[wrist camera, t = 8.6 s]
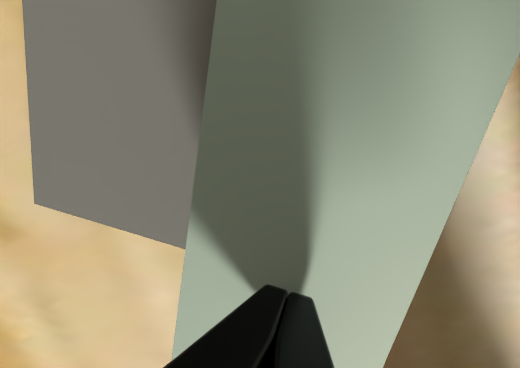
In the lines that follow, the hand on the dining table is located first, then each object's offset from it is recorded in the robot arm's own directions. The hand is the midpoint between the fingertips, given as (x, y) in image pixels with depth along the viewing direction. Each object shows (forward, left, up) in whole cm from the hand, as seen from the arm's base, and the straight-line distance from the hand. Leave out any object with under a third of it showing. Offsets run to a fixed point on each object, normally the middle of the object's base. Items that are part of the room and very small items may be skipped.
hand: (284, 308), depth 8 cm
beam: (0, 0, -4) cm, 4 cm away
